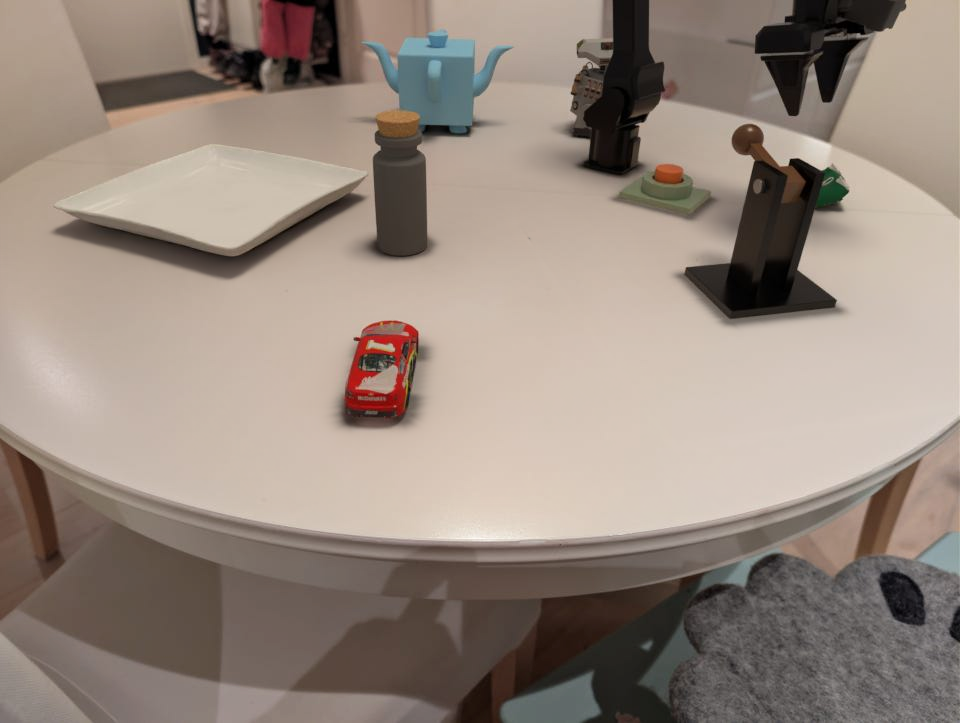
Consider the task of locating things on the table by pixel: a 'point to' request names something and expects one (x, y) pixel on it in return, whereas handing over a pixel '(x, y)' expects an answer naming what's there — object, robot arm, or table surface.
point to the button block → (666, 194)
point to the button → (668, 174)
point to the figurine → (589, 79)
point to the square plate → (215, 197)
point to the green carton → (832, 187)
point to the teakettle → (438, 78)
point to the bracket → (768, 250)
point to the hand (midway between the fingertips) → (810, 109)
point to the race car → (382, 370)
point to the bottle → (400, 184)
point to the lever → (766, 158)
